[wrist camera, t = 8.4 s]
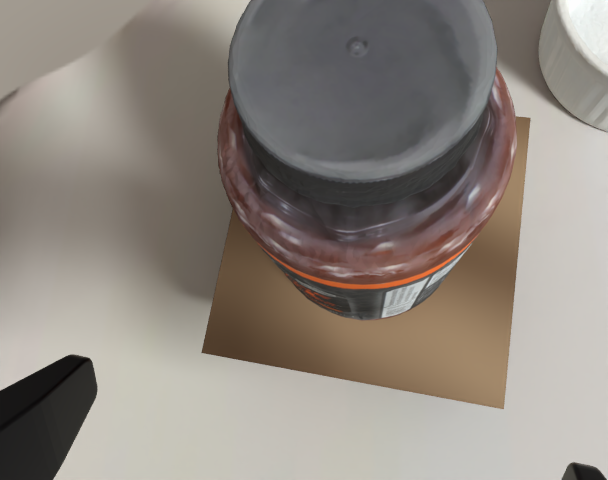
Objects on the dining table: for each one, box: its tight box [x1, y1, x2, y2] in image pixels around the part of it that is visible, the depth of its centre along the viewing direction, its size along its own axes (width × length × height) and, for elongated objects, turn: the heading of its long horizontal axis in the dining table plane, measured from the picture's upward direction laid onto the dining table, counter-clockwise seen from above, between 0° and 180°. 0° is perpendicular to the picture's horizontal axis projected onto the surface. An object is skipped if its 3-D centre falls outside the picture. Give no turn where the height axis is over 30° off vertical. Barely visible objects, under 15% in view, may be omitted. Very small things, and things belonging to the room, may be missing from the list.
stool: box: [202, 117, 530, 409], centre depth 21 cm, size 10×10×4 cm
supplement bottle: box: [217, 0, 517, 321], centre depth 13 cm, size 6×6×11 cm
